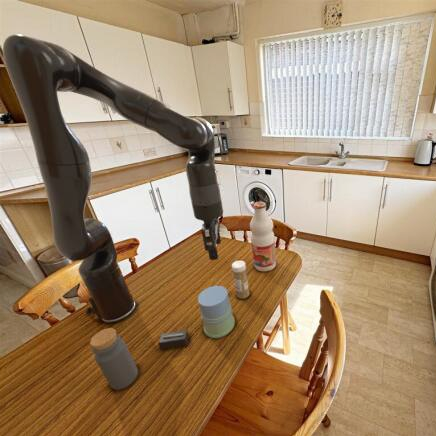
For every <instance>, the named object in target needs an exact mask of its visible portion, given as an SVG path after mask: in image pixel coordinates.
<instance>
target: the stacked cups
mask: <svg viewBox="0 0 436 436" xmlns="http://www.w3.org/2000/svg"><path fill="white" fill-rule="evenodd" d="M197 302H198V305H199V309H200V318H201V321H202V323H203V332H204V334H205V335H206V336H207V337H209V338H211V339H220V338H223V337H225V336H227V335H228V334H229V333H230V332H232V330H233V329H234V327H235V323H236V320H235V316H234V315H233V307H232V305H231V302H230V297H229V293H228V290H227V288H226V287H225V286H222V285H211V286H209V287H207V288H205V289H203V290H202V291H201V292H200V293H199V295H198V296H197Z"/></svg>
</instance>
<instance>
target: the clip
mask: <svg viewBox="0 0 436 436" xmlns="http://www.w3.org/2000/svg"><path fill="white" fill-rule="evenodd" d="M189 339H190V335H189V331H188V329H187V330H186V329H184V330H178V331H171V332H165V333H161V335H160V337H159V339H158V343H157V344H158V346H159V348H160V351H162V350H167V349H173V348H181V347H186V346H188V342H189Z"/></svg>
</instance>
